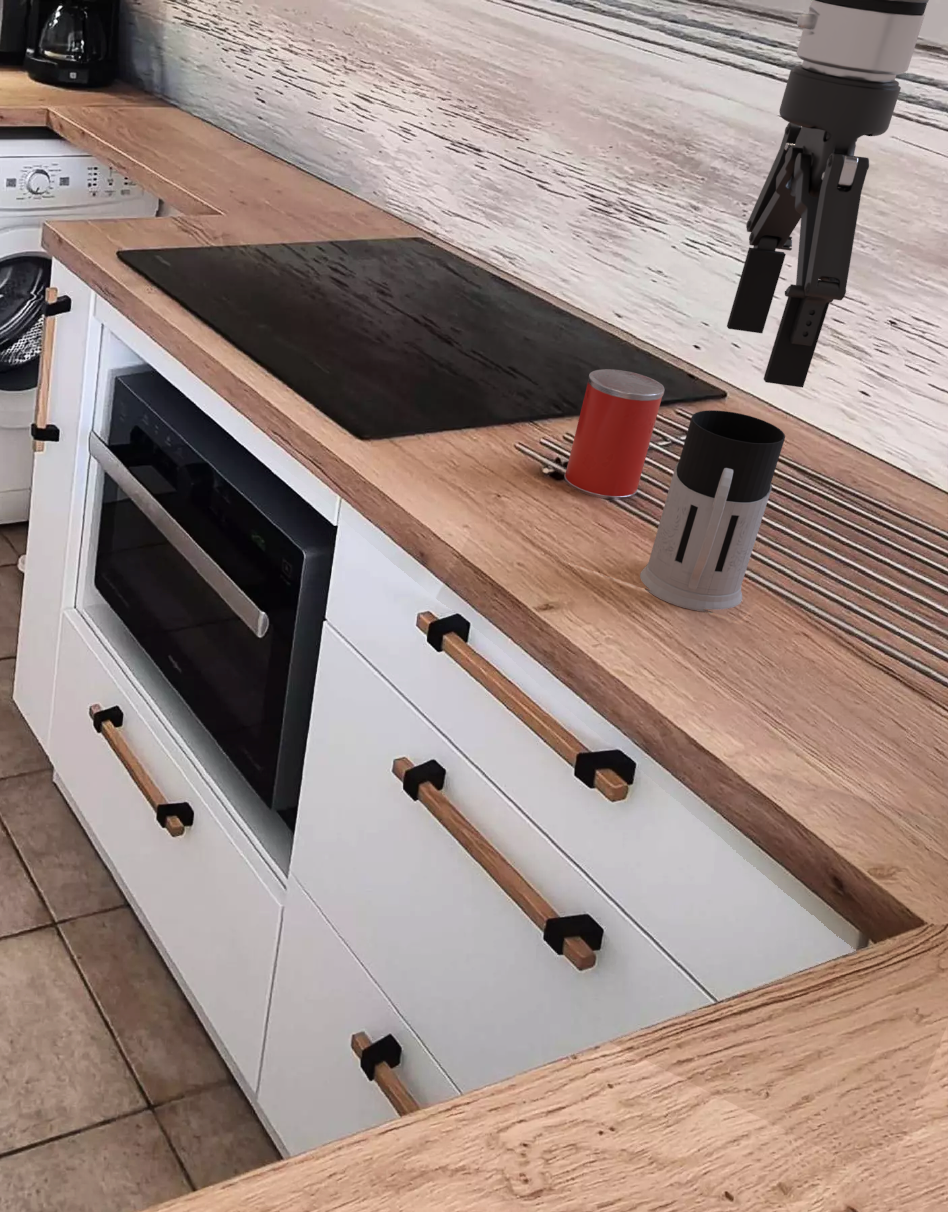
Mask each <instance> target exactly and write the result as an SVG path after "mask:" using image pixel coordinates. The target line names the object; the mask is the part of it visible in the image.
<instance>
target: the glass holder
mask: <svg viewBox="0 0 948 1212" xmlns="http://www.w3.org/2000/svg"><path fill="white" fill-rule="evenodd" d="M785 434H786V433H784V431H783V430H782V429H780V428H779V427H777V425H774V424H772V423H770V422H768V421H766V420H763V419H761V418H758V417H754V416H751V415H747V414H744V413H738V412H734V411H727V410H713V409H711V410H710V409H709V410H701V411H697V412H695V413H693V414H692V416H691V418H690V421H689V424H688V428H687V431H686V435H685V439H684V442H683V446H682V450H681V453H680V457H679V460H678V462H676V464H675V466H674V470H673V474H672V476H671V480H670V484H669V487H668V491H667V495H666V498H665V502H664V506H663V509H662V512H661V516H660V520H659V523H658V527H657V531H656V534H655V538H654V542H653V544H652V549H651V552H650V555H649V558H648V562H647V563H646V566H644V568H643V569H641V571H640V573H639V578H640V581H641V582H642V584H643V585H644V586H645V587H644V589H645V590H646V591H647V592H648V593H649V594H651V595H653V596H654V597H656V598H657V599H660V600H661V601H664V602H666V603H669V604H670V605H674V606H677V607H680V608H684V609H687V610H692V611H695V612H697V611H698V612H704V613H705V612H706V613H712V610H713V611H714V610H717V611H718V610H727V609H728V610H729V609H732V608H736V607H737V606H739V605H741V603H742V601H743V593H742V585H743V582H744V578H745V575H746V572H747V569H748V565H749V563H750V559H751V557H752V554H753V550H754V546H755V544H756V541H757V537H758V533H759V530H760V527H761V524H762V520H763V517H764V514H765V511H766V508H767V506H768V505H767V504H768V501H769V498H770V495H771V492H772V489H773V484H772V481H773V478H774V475H775V471H776V469H777V465H778V461H779V458H780V456H781V453H782V449H783V446H784V442H785V439H786V435H785Z"/></svg>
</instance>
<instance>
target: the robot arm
mask: <svg viewBox="0 0 948 1212" xmlns="http://www.w3.org/2000/svg"><path fill="white" fill-rule="evenodd" d="M928 4H929V0H811V1H810V4H809V7H808V13H801V14H799V16H798V17H797V22H796V26H797V27H798V28H799V29H802V31H801V35H800V38H799V42H798V45H797V50H796V53H795V54H796V56H797V57H798V58H799V59H800V60H802V64H799V65H795V66H794V68H793V69H790V71H789V75H788V78H787V82H786V86H785V89H784V93H783V96H782V99H781V103H780V105H779V106H780V107H779V115H780V117H781V118H782V119H783V120H784V121H785V122H787V125H786V127H785V128H784V134H783V137H782V140H781V143H780V147H779V150H778V151H777V154H776V157H775V158H774V161H773V163H772V165H771V167H770V170H769V172H768V175H767V176H766V179H765V181H764V184H763V185H762V188H761V190H760V193H759V195H758V197H757V199H756V202H755V205H753V206H754V207H753V208H752V211H751V212H750V216H749V218H748V220H747V222H746V224H745V225H746V226H745V228H746V232H747V233H749V236H748V243H749V244H748V245H749V247H748V250H747V254H746V257H745V260H744V264H743V267H742V270H741V275H740V278H739V280H738V281H739V282H738V285H737V289H736V292H735V295H734V299H733V303H732V306H731V309H730V313H729V317H728V320H727V324H726V327H727V329H728V330H735V331H741V332H748V333H754V334H755V333H756V334H763V333H764V329H765V325H766V322H767V319H768V315H769V312H770V309H771V306H772V302H773V299H774V296H775V293H776V289H777V287H778V286H777V285H778V282H779V279H780V275H781V272H782V268H783V265H784V261H785V260H786V259H785V258H786V253H785V252H784V251H792V250H793V248H792V247H793V240H792V239H793V236H791V235H792V233H793V232H794V230H795V228H796V227H797V225H798V223H799V222H800V227H799V228H800V229H799V239H798V240H799V241H798V255H797V267H796V278H795V279H796V280H795V284H791V283H790V285H789V286H788V287H787V288H786V289H785V290H784V296H785V297H787V299H786V302H785V306H784V309H783V312H782V316H781V319H780V323H779V326H778V330H777V332H776V335H775V340H774V342H773V346H772V349H771V353H770V356H769V359H768V361H767V366H766V369H765V372H764V376H763V381H764V382H765V383H769V384H775V385H781V386H782V385H783V386H789V387H796V388H804V386H805V382H806V379H807V377H808V373H809V371H810V366H811V363H812V361H813V357H814V355H815V354H814V353H815V351H816V348H817V347H816V346H817V344H818V341H819V338H820V335H821V331H822V328H823V325H824V322H825V319H826V316H827V313H828V309H829V306H830V303H833V302H834V301H843V299H844V298H845V297H846V294H847V285H848V278H849V273H850V266H851V260H852V254H853V248H854V240H855V235H856V228H857V222H858V216H859V210H860V203H861V198H862V197H861V196H862V192H863V188H864V184H865V181H866V177H867V173H868V170H869V168H870V159H869V157H866V156H865V157H864V156H858V155H855V153H856V147H857V144H856V143H857V141H858V139H859V138H861V137H864V136H866V137H878V136H881V135H883V134H885V133H886V132H887V131H888V130H889V127H890V124H891V121H892V119H893V114H894V111H895V108H896V105H897V103H898V102H897V101H898V99H899V95H900V92H901V89H902V87H901V86H900V83H899V81H898V80H896V78H897V75H902V74H905V72H908V70H909V67H910V64H911V60H912V58H913V54H914V51H915V48H916V44H917V41H918V38H919V35H920V31H921V28H922V26H923V22H924V19H925V11H926V8H927V6H928ZM750 246H753V247H750ZM780 250H782V251H780Z"/></svg>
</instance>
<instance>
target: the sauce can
mask: <svg viewBox="0 0 948 1212" xmlns="http://www.w3.org/2000/svg"><path fill="white" fill-rule="evenodd" d="M664 394H665V387H664V385H663V384H662V383H661V382H659V381H657V380H655V379H653V378H651V377H649V376H646V375H644V374H641V373H636V372H633V371H628V370H627V371H626V370H621V369H609V368H608V369H605V368H604V369H596V370H593V371H591V372H589V375H588V378H587V384H586V389H585V393H584V396H583V401H582V405H581V409H580V413H579V416H578V421H577V425H576V429H575V433H574V438H573V441H572V445H571V448H570V454H569V458H568V461H567V466H566V470H565V473H564V474H563V475H564V476H563V482H564V483H565V484H566V485H567V486H568V487H569V488H571V489H573V490H575V491H576V492H579V493H581V494H584V495H587V496H588V497H589V496H590V497H592V498H593V497H594V498H598V499H602V500H610V501H611V500H612V501H625V500H630V499H632V498H634V497H635V496H636V495H637V494H638V488H639V484H640V480H641V476H642V473H643V470H644V465H645V461H646V458H647V456H648V455H647V454H648V450H649V447H650V444H651V439H652V436H653V432H654V429H655V425H656V421H657V418H658V413H659V410H660V406H661V402H662V400H663V396H664Z"/></svg>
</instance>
